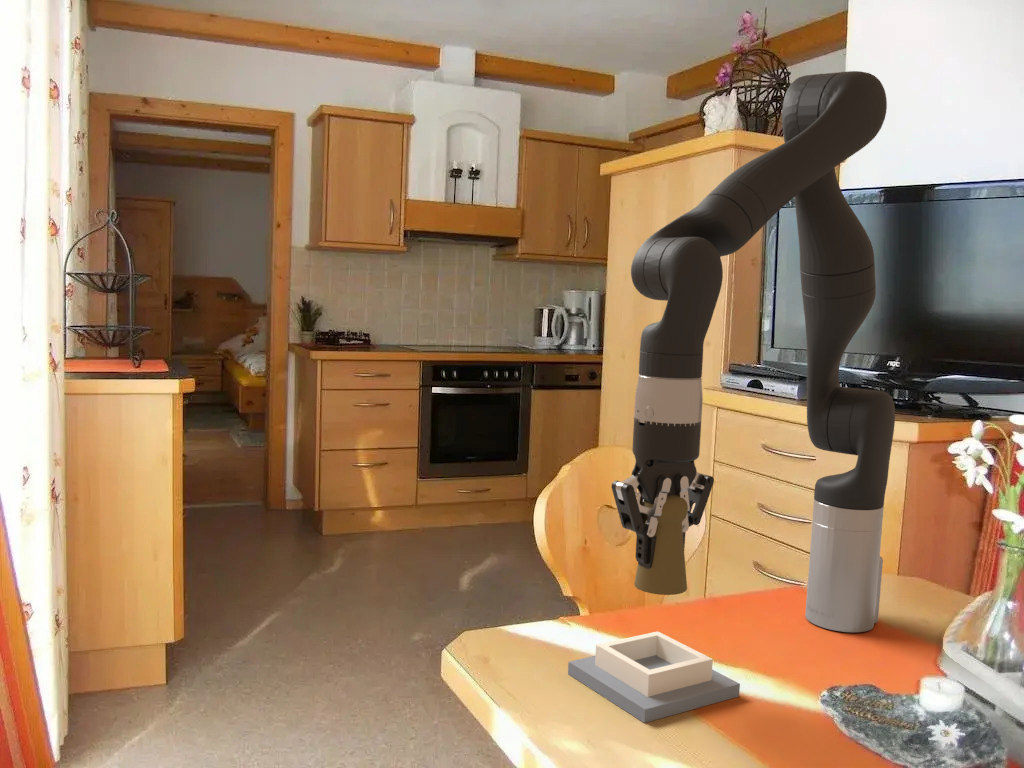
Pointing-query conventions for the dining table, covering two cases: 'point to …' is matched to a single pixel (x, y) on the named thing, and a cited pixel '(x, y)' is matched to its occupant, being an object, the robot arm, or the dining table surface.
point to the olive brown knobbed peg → (666, 552)
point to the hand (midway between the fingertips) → (659, 563)
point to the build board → (653, 676)
